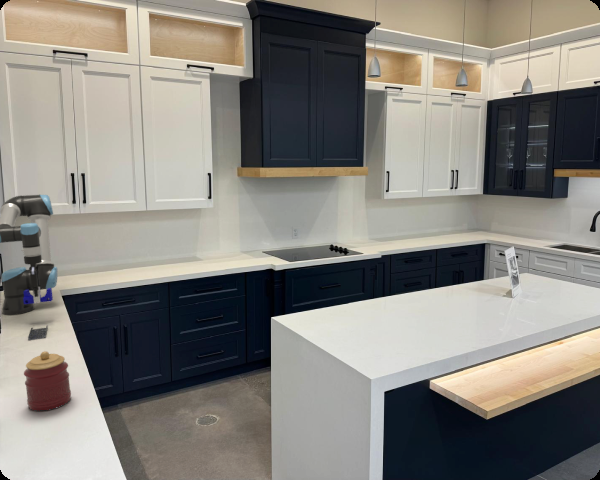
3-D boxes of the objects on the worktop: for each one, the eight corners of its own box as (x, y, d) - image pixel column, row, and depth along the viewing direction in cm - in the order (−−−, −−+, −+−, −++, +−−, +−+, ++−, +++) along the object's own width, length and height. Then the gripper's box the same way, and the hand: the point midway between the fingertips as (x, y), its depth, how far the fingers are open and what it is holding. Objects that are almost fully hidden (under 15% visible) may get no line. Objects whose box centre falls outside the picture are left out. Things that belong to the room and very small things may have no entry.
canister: (25, 415, 157) (19, 362, 154) (29, 398, 169) (23, 348, 166) (71, 406, 162) (65, 354, 159) (71, 390, 174) (66, 342, 171)
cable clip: (23, 304, 244) (22, 292, 243) (27, 301, 249) (25, 289, 247) (50, 302, 246) (48, 290, 245) (52, 299, 251) (51, 288, 249)
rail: (31, 330, 239) (31, 327, 239) (47, 328, 242) (47, 325, 242) (28, 340, 225) (28, 337, 225) (45, 338, 228) (45, 335, 228)
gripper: (25, 252, 250) (31, 297, 254) (21, 259, 234) (27, 307, 238) (42, 251, 253) (47, 295, 257) (39, 257, 237) (44, 305, 241)
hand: (37, 301), depth 247 cm, fingers closed on cable clip, 5 cm apart
